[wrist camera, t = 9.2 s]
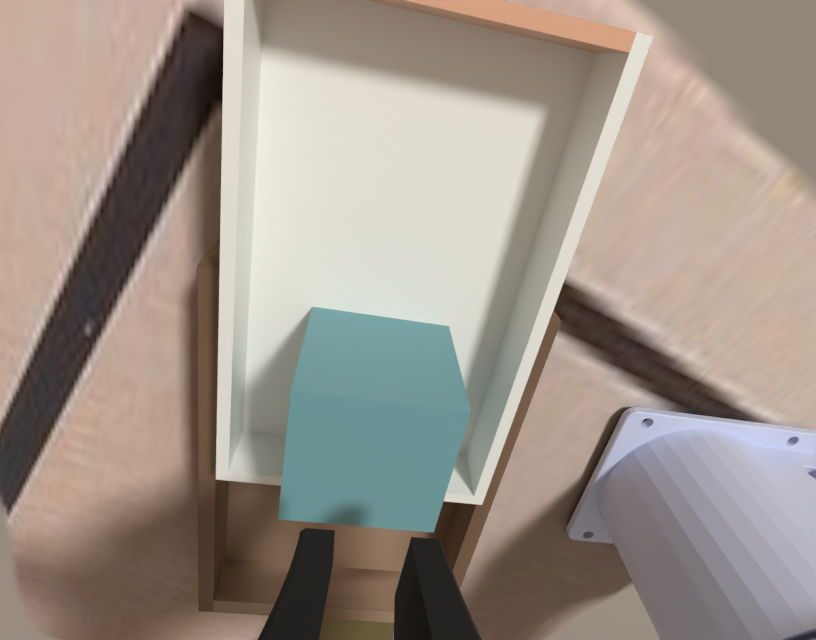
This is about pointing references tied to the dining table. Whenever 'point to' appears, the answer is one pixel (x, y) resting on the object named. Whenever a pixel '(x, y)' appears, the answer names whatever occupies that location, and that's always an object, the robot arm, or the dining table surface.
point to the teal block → (372, 422)
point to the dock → (277, 539)
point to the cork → (355, 630)
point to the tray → (404, 193)
